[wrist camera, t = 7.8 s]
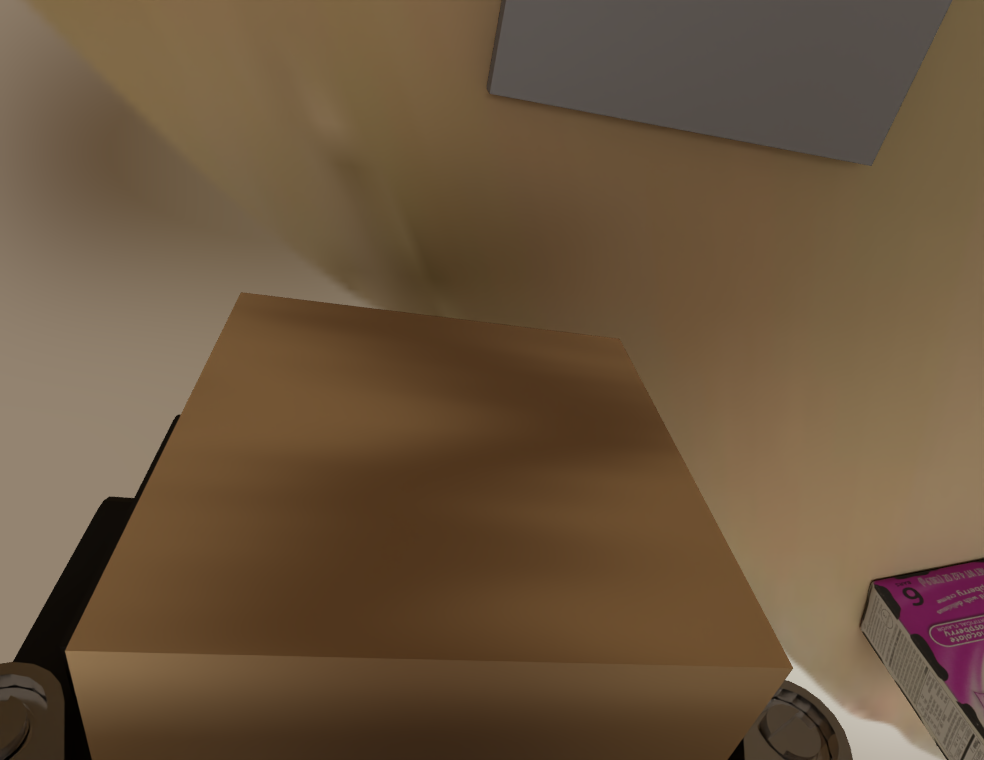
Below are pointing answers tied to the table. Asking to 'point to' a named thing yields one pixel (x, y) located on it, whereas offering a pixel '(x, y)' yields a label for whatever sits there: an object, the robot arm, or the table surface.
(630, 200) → the table surface
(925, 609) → the candy bar box
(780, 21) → the charcoal mat
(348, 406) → the oak cube
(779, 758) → the robot arm
